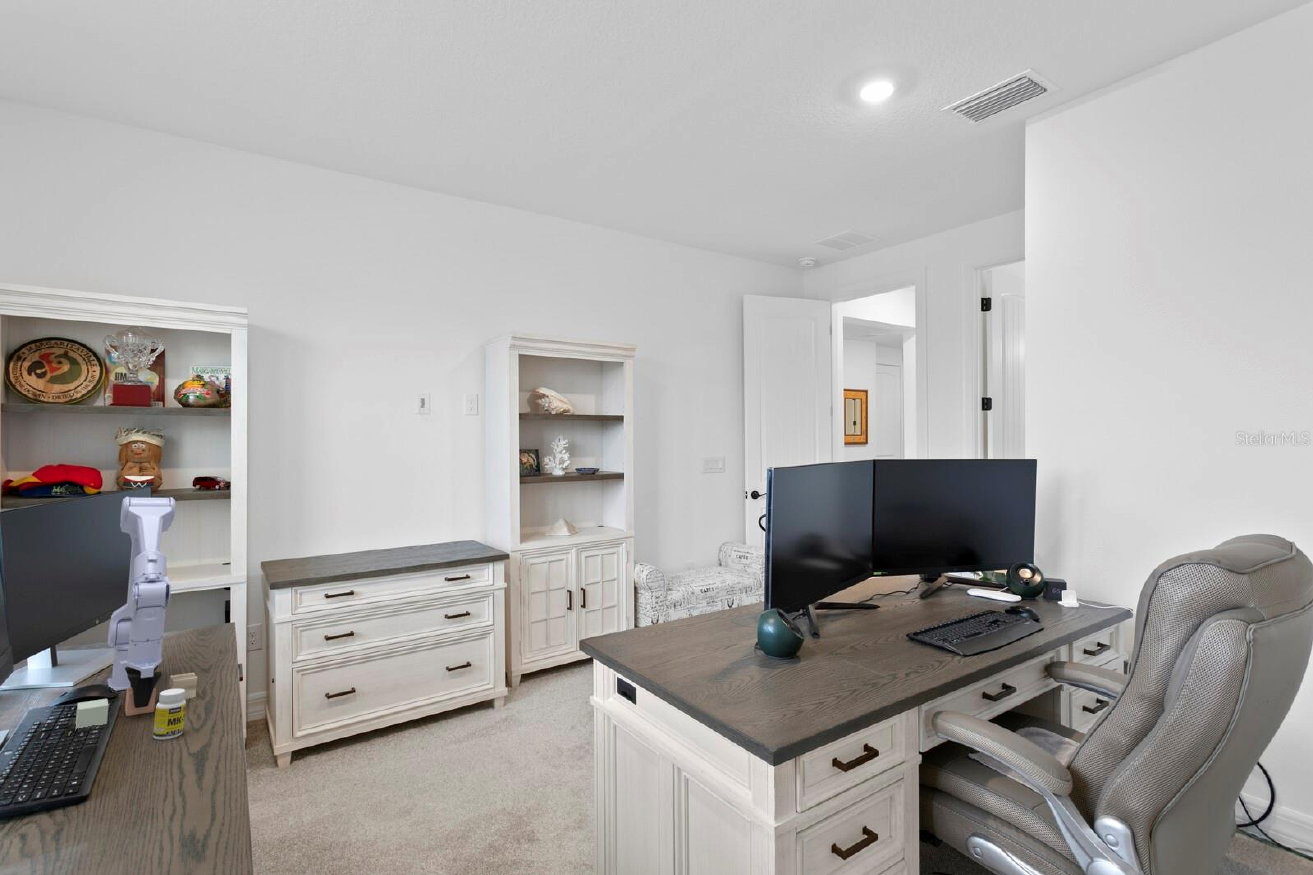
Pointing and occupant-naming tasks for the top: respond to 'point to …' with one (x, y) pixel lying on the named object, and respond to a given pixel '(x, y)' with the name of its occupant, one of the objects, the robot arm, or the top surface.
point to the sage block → (92, 713)
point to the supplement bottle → (169, 714)
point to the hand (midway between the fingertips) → (140, 703)
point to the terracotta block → (132, 710)
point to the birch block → (184, 684)
